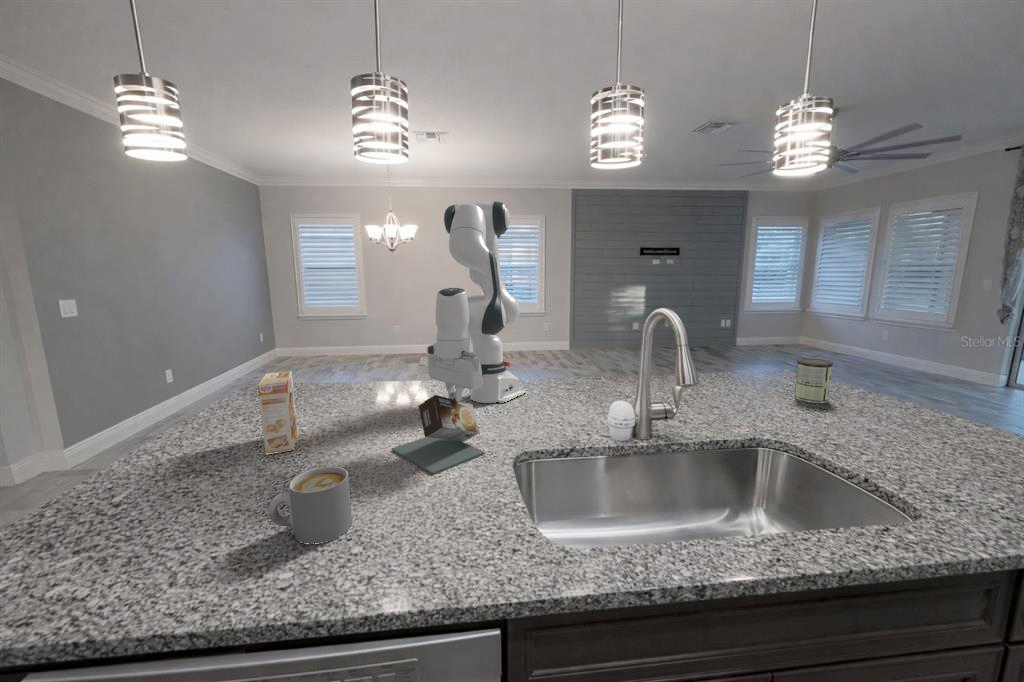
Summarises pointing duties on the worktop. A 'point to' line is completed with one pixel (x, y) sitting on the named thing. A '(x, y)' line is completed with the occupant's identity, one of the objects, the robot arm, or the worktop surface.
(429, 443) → the mat
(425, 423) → the coffee box
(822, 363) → the coffee can
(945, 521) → the worktop surface
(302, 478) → the coffee mug
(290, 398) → the coffeecake box
